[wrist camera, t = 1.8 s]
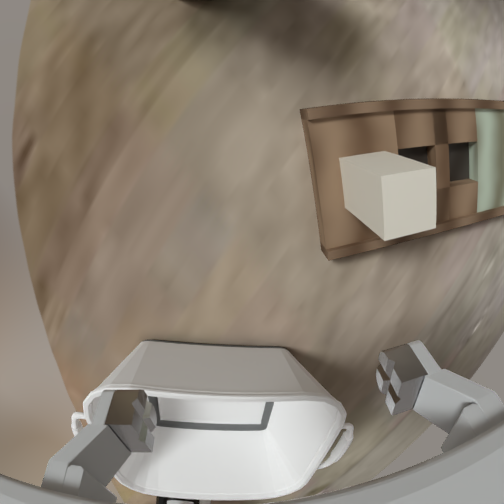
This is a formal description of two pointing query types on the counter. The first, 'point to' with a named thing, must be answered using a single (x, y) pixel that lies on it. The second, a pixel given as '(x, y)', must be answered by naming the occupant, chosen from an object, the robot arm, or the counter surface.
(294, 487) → the tub
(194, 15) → the counter surface
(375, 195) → the cream block
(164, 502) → the coffee press
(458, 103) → the box
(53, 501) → the robot arm
